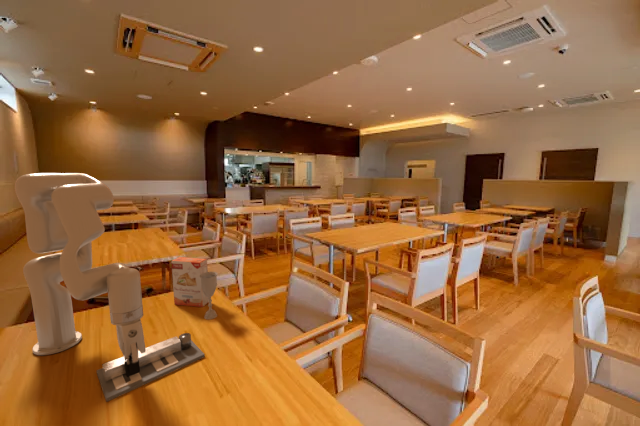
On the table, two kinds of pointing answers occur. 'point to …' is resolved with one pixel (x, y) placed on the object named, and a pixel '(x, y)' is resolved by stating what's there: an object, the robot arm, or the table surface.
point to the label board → (148, 372)
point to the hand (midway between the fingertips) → (132, 373)
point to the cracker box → (189, 281)
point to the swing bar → (148, 355)
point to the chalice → (209, 290)
